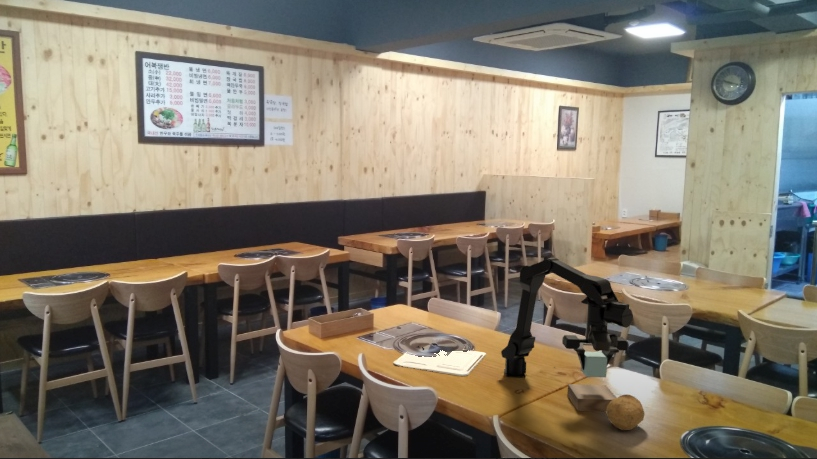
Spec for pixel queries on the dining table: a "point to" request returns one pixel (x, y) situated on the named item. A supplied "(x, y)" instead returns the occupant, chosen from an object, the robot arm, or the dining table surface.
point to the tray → (443, 362)
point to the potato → (625, 412)
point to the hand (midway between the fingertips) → (593, 369)
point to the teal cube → (595, 364)
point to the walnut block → (590, 397)
